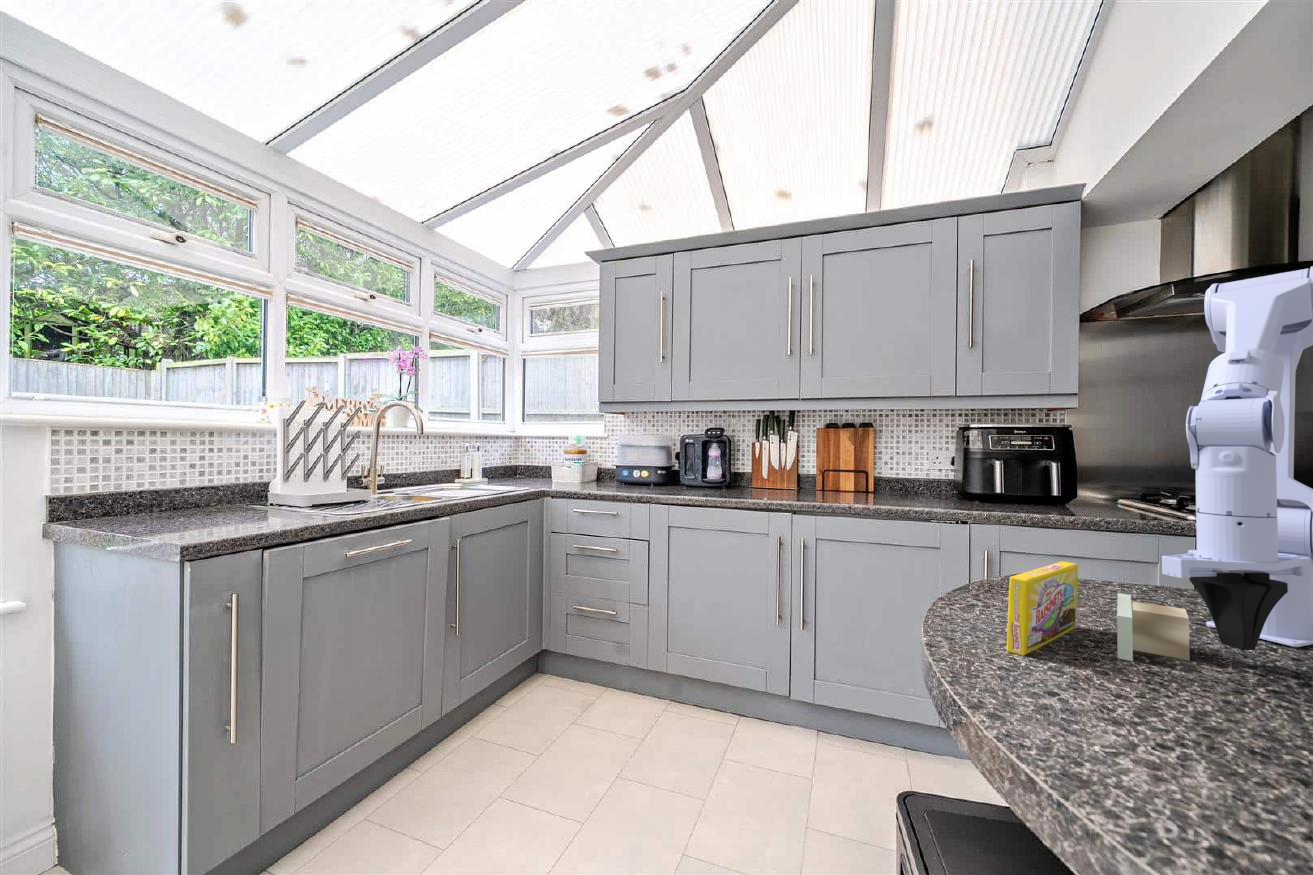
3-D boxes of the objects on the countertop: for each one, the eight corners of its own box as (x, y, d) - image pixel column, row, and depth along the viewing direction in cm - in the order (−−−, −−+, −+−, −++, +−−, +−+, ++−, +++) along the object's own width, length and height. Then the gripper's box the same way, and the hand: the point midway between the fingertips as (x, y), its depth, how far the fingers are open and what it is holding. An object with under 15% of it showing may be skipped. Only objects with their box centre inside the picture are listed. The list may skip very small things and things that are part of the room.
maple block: (1185, 649, 60) (1185, 608, 60) (1189, 661, 56) (1188, 618, 56) (1131, 639, 63) (1131, 601, 63) (1132, 650, 59) (1131, 609, 59)
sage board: (1131, 632, 65) (1130, 594, 65) (1132, 661, 56) (1132, 617, 56) (1118, 630, 66) (1117, 593, 66) (1117, 658, 57) (1117, 615, 57)
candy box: (1027, 658, 57) (1027, 580, 57) (1005, 652, 58) (1004, 576, 58) (1079, 629, 66) (1078, 562, 66) (1058, 625, 68) (1058, 559, 68)
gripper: (1252, 509, 60) (1255, 631, 60) (1132, 510, 59) (1134, 634, 58) (1337, 517, 53) (1340, 656, 53) (1203, 518, 52) (1205, 659, 51)
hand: (1237, 646), depth 55 cm, fingers closed
